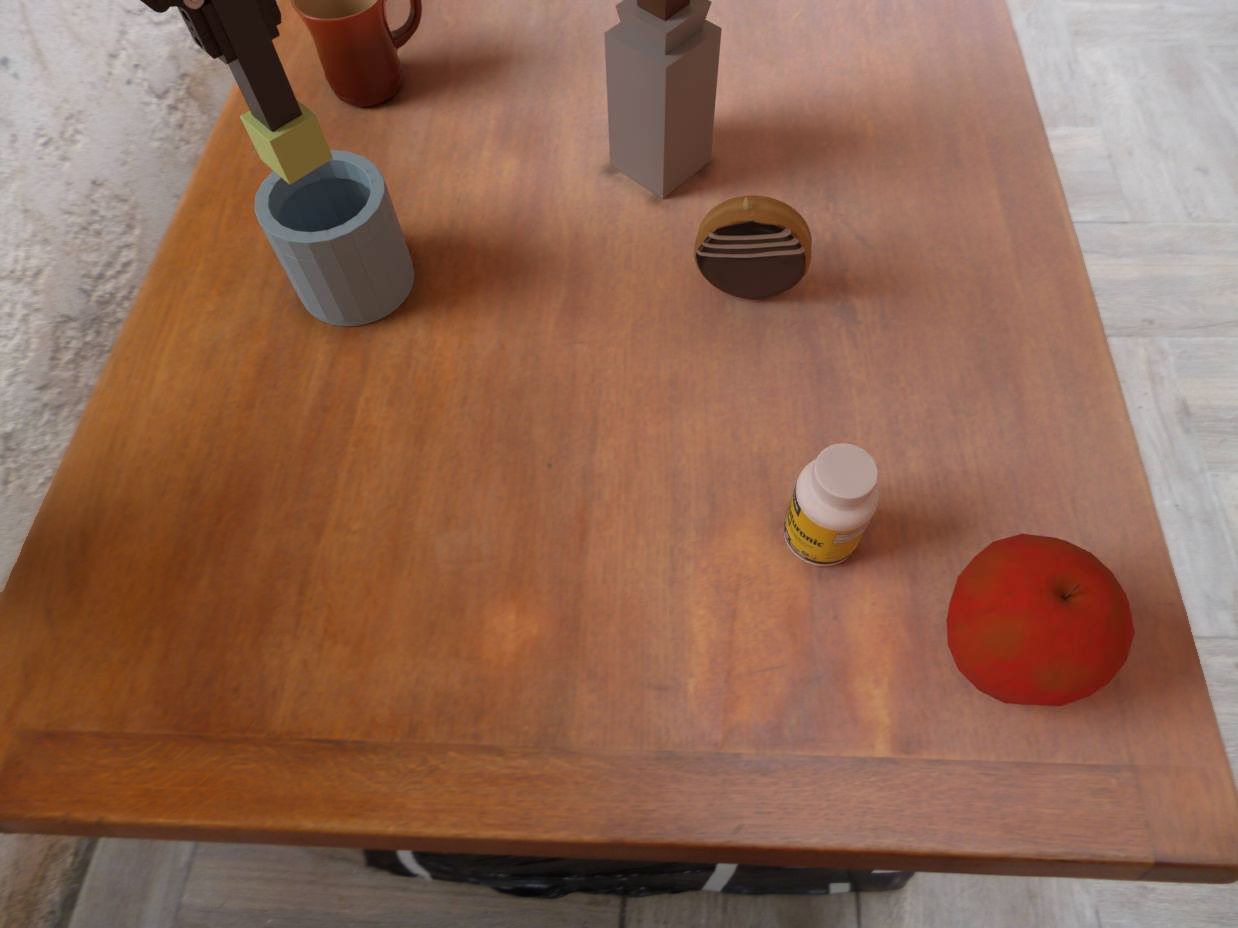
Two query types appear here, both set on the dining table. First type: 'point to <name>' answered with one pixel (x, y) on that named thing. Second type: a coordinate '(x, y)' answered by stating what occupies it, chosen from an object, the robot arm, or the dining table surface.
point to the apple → (1038, 622)
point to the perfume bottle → (661, 90)
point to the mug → (358, 46)
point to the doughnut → (753, 247)
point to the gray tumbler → (338, 240)
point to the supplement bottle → (832, 505)
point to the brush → (270, 96)
